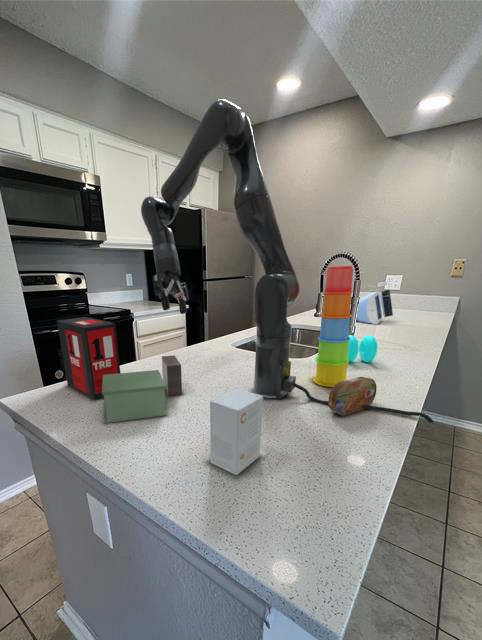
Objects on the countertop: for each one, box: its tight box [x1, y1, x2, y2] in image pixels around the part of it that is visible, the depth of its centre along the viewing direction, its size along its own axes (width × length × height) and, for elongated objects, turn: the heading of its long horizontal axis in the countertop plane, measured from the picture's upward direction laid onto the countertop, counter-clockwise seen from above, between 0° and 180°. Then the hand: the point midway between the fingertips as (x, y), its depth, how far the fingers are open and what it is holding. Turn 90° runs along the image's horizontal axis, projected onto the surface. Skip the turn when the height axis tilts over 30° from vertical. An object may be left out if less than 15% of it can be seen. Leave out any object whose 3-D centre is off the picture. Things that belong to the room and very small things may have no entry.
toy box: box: [102, 369, 167, 424], centre depth 82 cm, size 15×13×8 cm
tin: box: [327, 376, 378, 417], centre depth 81 cm, size 15×3×8 cm, turn 117°
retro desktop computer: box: [355, 281, 394, 325], centre depth 200 cm, size 25×23×17 cm
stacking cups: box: [312, 265, 354, 388], centre depth 95 cm, size 10×10×35 cm
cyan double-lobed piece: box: [347, 334, 378, 363], centre depth 121 cm, size 10×10×10 cm
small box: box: [209, 388, 264, 476], centre depth 60 cm, size 8×6×13 cm
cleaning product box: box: [56, 316, 121, 401], centre depth 93 cm, size 16×9×20 cm, turn 47°
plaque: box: [161, 354, 183, 397], centre depth 95 cm, size 10×4×9 cm, turn 16°
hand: (175, 311), depth 100 cm, fingers open, 8 cm apart
